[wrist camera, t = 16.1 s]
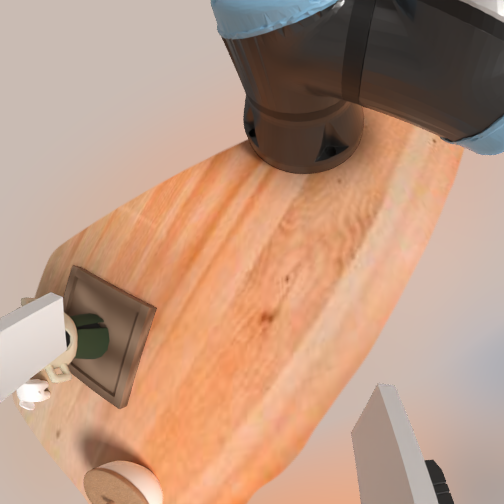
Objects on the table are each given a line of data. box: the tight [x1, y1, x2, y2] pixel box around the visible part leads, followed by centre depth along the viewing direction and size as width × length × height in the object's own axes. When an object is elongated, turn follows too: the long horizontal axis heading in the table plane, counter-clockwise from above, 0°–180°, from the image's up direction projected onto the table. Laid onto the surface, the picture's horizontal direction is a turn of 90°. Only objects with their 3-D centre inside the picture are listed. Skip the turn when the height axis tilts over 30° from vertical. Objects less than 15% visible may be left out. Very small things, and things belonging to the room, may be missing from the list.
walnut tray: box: [63, 265, 157, 409], centre depth 36 cm, size 15×15×2 cm
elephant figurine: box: [16, 379, 51, 410], centre depth 36 cm, size 7×8×6 cm
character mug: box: [16, 298, 110, 383], centre depth 30 cm, size 11×7×13 cm, turn 35°
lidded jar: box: [84, 461, 163, 504], centre depth 28 cm, size 11×11×9 cm
